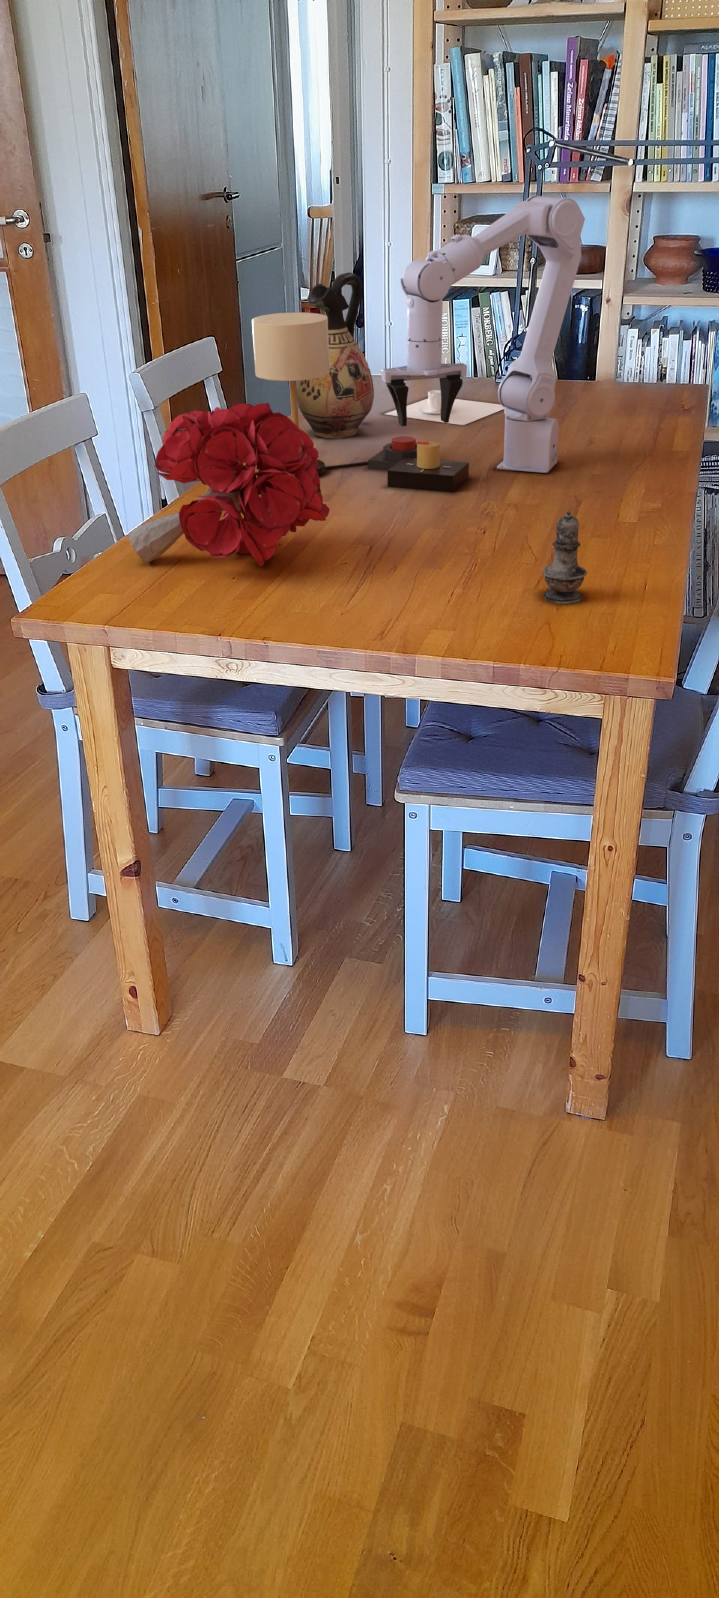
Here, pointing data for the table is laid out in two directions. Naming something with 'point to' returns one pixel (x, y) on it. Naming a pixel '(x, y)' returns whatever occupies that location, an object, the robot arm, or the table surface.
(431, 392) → the teacup and saucer
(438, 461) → the dimmer knob
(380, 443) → the table surface
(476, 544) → the table surface
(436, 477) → the dimmer panel
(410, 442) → the lamp switch
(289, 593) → the table surface
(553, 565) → the salt shaker
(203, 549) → the bouquet
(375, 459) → the switch box
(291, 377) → the table lamp
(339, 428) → the ceramic jug
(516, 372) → the robot arm
